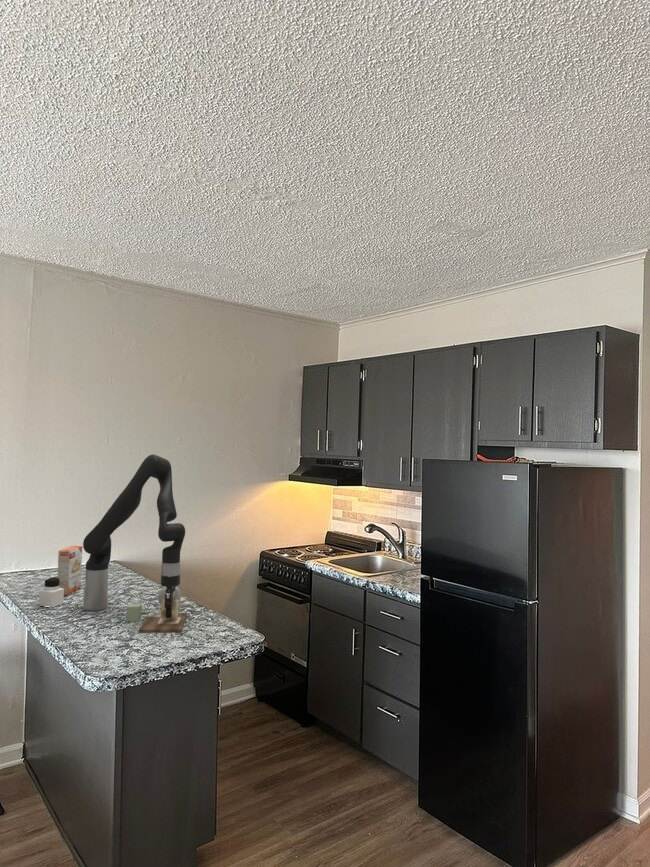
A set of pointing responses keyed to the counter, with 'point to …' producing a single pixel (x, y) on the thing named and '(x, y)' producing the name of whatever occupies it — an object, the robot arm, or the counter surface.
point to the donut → (162, 595)
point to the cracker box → (70, 568)
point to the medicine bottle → (51, 593)
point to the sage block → (133, 613)
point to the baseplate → (162, 623)
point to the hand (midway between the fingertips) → (169, 614)
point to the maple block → (174, 610)
